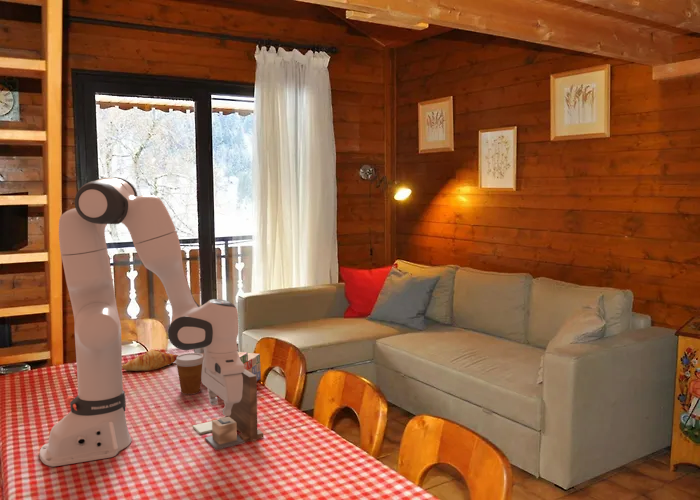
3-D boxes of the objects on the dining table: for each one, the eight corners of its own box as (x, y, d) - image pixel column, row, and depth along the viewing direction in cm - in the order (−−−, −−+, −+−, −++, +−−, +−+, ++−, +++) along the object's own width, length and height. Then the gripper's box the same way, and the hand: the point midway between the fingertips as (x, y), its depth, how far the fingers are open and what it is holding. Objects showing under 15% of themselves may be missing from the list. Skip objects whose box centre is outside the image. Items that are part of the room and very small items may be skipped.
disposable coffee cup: (170, 394, 206) (169, 359, 205) (187, 385, 215) (186, 351, 213) (194, 397, 203) (193, 362, 201) (210, 388, 211) (210, 354, 210)
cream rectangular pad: (200, 434, 173) (199, 432, 173) (192, 427, 178) (192, 425, 178) (226, 428, 178) (226, 426, 178) (219, 421, 183) (218, 419, 183)
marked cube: (219, 444, 165) (218, 425, 165) (212, 437, 170) (211, 419, 169) (236, 440, 168) (236, 421, 168) (229, 433, 172) (229, 415, 172)
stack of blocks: (245, 377, 224) (244, 344, 222) (261, 379, 222) (260, 345, 220) (214, 396, 204) (213, 360, 202) (230, 399, 202) (229, 362, 200)
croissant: (125, 383, 228) (126, 367, 224) (117, 364, 235) (119, 348, 231) (181, 371, 240) (183, 356, 236) (172, 354, 247) (175, 339, 243)
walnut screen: (244, 442, 168) (242, 378, 166) (219, 421, 183) (217, 362, 181) (264, 437, 171) (263, 374, 169) (237, 417, 186) (236, 358, 184)
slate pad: (216, 450, 163) (216, 447, 163) (205, 439, 170) (205, 437, 170) (244, 442, 168) (244, 440, 168) (232, 432, 174) (232, 430, 174)
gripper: (196, 351, 173) (195, 399, 175) (224, 371, 156) (223, 424, 158) (217, 349, 177) (216, 396, 178) (247, 368, 160) (246, 419, 161)
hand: (219, 409), depth 168 cm, fingers open, 8 cm apart
